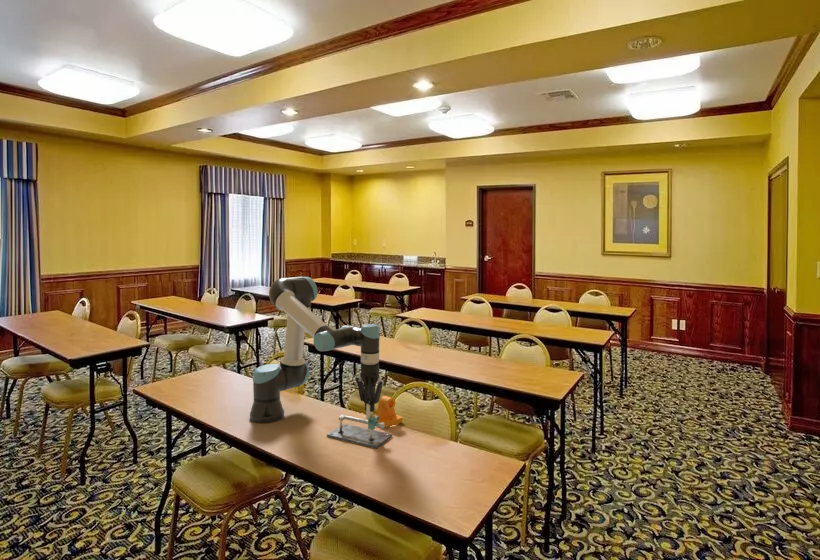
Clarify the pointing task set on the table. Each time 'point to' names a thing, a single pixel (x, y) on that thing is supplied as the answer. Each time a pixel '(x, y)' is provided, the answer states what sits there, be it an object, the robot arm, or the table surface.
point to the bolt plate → (360, 436)
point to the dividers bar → (357, 421)
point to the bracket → (387, 412)
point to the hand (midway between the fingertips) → (369, 418)
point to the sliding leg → (372, 423)
